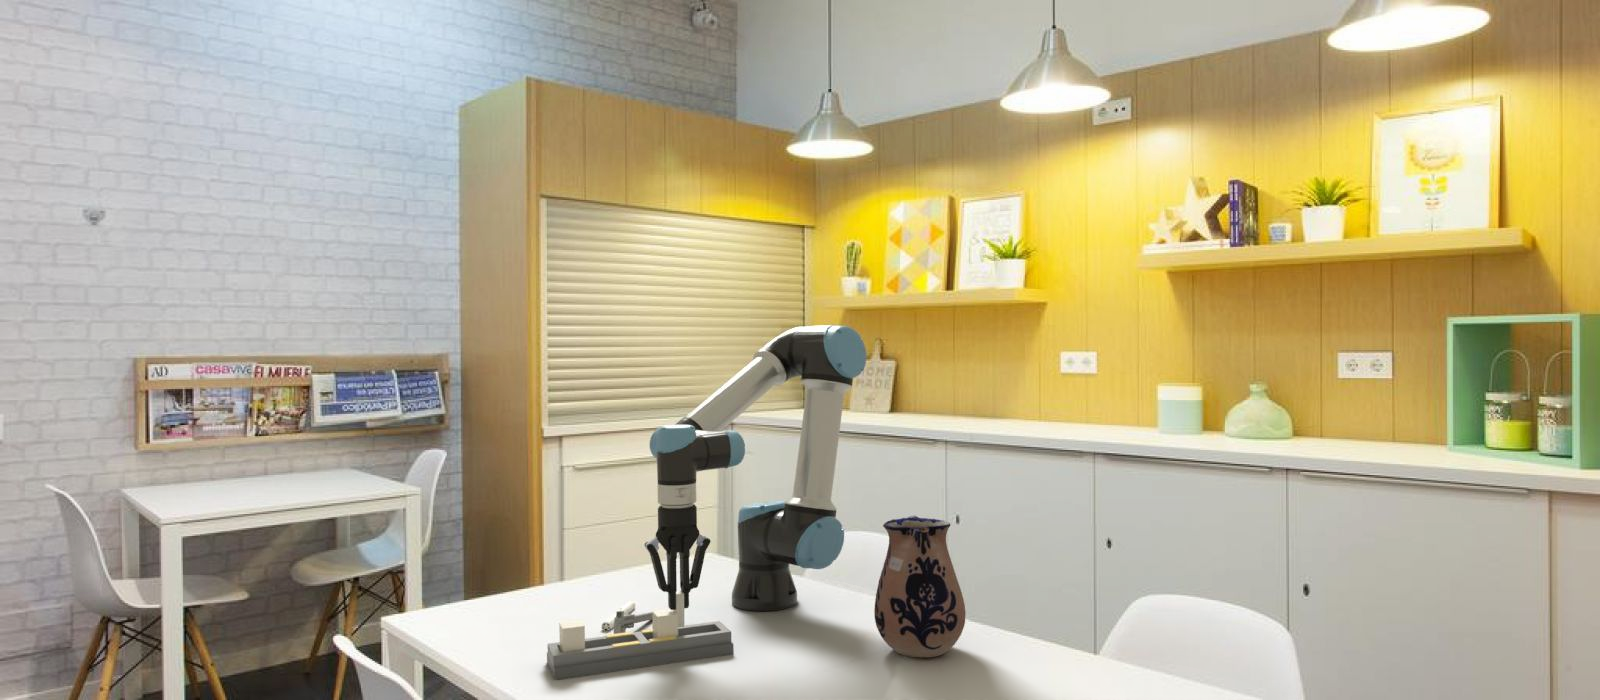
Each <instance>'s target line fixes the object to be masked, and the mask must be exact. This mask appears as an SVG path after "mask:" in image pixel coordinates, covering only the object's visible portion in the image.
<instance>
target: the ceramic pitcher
mask: <svg viewBox="0 0 1600 700" xmlns="http://www.w3.org/2000/svg"><path fill="white" fill-rule="evenodd" d="M882 526H883V528H884V529H885V531H886V532H887V534H888V538H889V539H888V547H887V551H886V555H885V560H884V563H883V567H882V570H881V572H880V576H879V580H878V584H877V588H876V593H875V601H874V623H875V625H876V629H877V631H878V633H879V635H880V637H881V638H882V639H883V641H884V642H885V643H886V645H888V646H889V647H890V648H891V650H894V652H896V653H898V654H900V655H903V656H906V657H912V658H936V657H939V656H941V655H944V654H946V653H947V652H948V651H949V650H951V649H952V648H953V647H954V646H955V645H956V643H957V642H958V640H959V639H960V637H961V635H962V632H963V630H964V629H965V628H964V627H965V624H966V604H965V600H964V597H963V593H962V590H961V586H960V584H959V581H958V578H957V574H956V572H955V569H954V566H953V565H954V564H953V563H952V559H951V556H950V553H949V552H950V551H949V549H948V544H947V533H948V532H949V531H948V530H949V528H950V527H951V522H948V521H946V520H944V519H935V518H928V517H918V516H917V515H916V514H915V515H910V516H907V517H902V518H896V519H894V518H893V519H891V520H887V521H886V522H884V524H882Z"/></svg>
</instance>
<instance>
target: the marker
mask: <svg viewBox="0 0 1600 700" xmlns="http://www.w3.org/2000/svg"><path fill="white" fill-rule="evenodd" d="M635 608H636V602H634V601H633V600H629V601H628V602H626V603H625V604H624V605H623V606H621V607H620V608H619V609H618V610H617V611H624V615H628V614H631V612H633V610H635ZM617 611H616V612H614V613H613V614H612V615H610V616H609V617H608V618H607V619H606V620H605V621H604V622H602V624H601V630H602V631H607V630H609V631H611V630H612V629H614V620H615V617H616V614H617ZM605 629H606V630H605ZM610 629H611V630H610Z"/></svg>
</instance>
